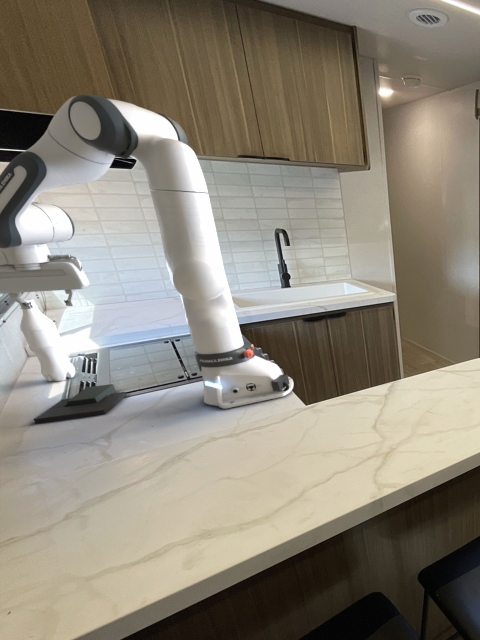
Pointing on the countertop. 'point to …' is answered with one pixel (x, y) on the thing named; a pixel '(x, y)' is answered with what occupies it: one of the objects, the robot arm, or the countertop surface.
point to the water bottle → (46, 344)
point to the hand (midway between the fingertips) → (50, 307)
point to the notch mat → (79, 409)
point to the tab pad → (92, 395)
